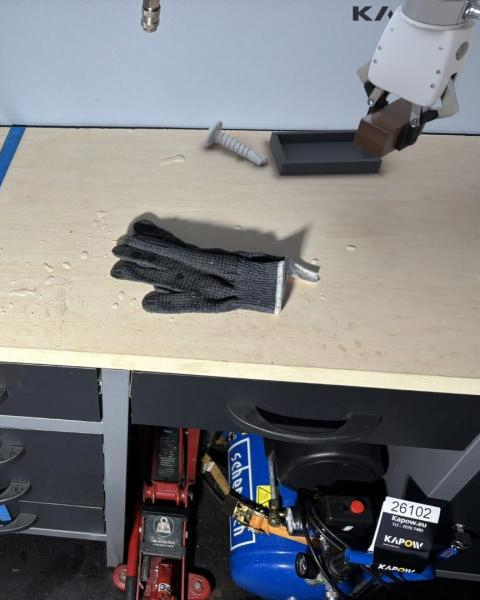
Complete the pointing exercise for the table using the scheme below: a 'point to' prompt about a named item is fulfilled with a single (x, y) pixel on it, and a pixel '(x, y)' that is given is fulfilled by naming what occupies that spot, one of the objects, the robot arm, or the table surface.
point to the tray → (321, 153)
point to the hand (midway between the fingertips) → (387, 137)
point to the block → (383, 128)
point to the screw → (231, 144)
